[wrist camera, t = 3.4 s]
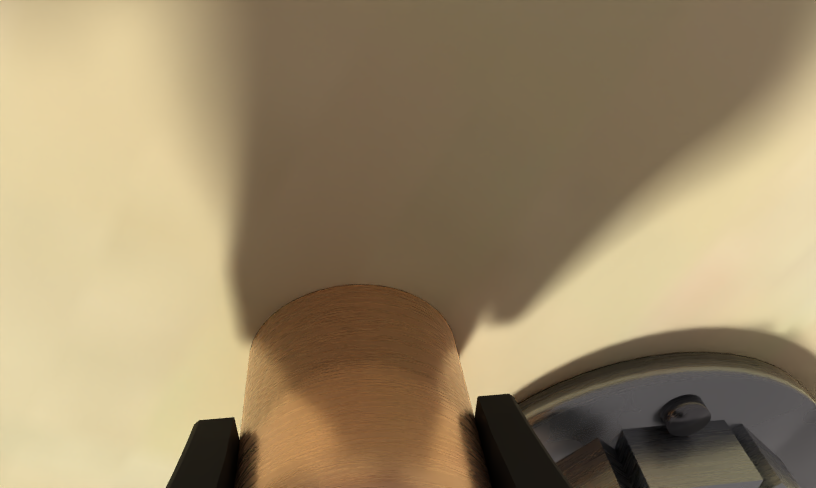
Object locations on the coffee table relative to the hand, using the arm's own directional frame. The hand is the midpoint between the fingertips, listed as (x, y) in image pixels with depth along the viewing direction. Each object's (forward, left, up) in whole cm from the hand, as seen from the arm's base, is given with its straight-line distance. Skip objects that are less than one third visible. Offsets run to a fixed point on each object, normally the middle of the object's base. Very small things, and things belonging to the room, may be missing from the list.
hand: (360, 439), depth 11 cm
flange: (+7, -6, -2) cm, 10 cm away
